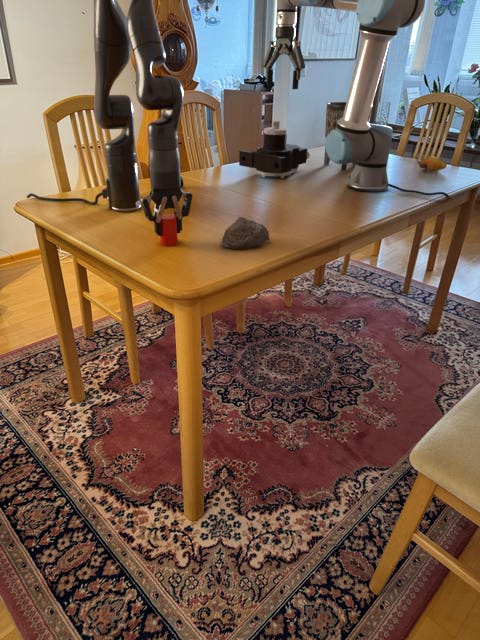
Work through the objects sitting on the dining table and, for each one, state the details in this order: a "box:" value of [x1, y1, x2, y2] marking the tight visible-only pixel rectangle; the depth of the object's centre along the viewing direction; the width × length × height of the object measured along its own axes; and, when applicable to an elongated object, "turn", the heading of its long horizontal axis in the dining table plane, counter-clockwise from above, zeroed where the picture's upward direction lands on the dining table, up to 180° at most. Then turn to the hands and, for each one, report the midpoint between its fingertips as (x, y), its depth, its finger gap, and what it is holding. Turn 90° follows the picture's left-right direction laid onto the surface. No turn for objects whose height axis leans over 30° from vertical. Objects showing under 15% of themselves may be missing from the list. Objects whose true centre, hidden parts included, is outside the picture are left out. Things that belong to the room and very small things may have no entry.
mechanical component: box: [238, 120, 311, 179], centre depth 191 cm, size 22×21×30 cm
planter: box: [323, 101, 374, 172], centre depth 204 cm, size 20×20×26 cm
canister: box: [159, 213, 179, 247], centre depth 119 cm, size 4×4×7 cm
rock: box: [221, 216, 270, 250], centre depth 119 cm, size 13×9×6 cm, turn 131°
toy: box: [417, 156, 448, 172], centre depth 207 cm, size 11×6×15 cm
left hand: (168, 233), depth 120 cm, fingers closed on canister, 4 cm apart
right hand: (282, 88), depth 185 cm, fingers open, 13 cm apart
